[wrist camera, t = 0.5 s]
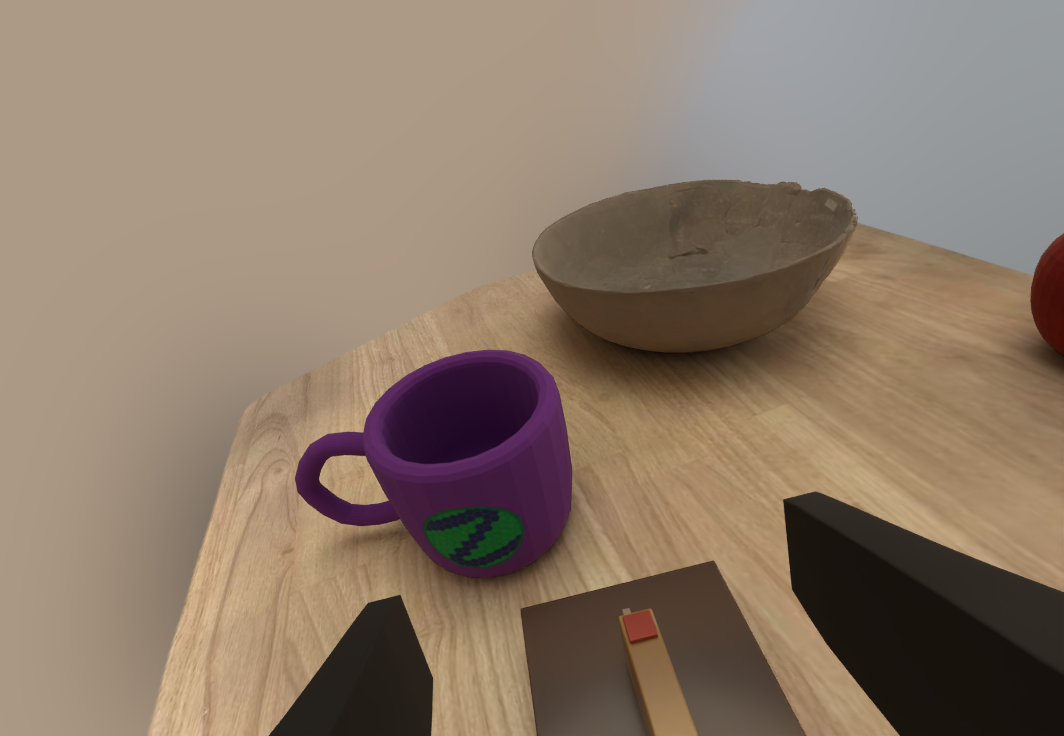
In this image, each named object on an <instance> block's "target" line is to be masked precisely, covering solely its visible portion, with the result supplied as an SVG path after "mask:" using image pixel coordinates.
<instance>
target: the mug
mask: <svg viewBox="0 0 1064 736" xmlns="http://www.w3.org/2000/svg"><path fill="white" fill-rule="evenodd" d="M340 455H357V456H366V458H367V461H368V462H369V464H370V466H371V468H372V470H373V472H374V474H375V476H376V478H377V480H378V481H379V483H380V485H381V487H382V489H383V491H384V493H385V494H386V496H387V498H388V499H389V501H387V502H383V503H378V504H370V505H358V504H351V503H349V502H347V501H344V500H342V499H340V498H338V497H337V496H336V495H334V494H333V493H332V492H330V491H329V490H328V489H327V488H325V487H324V486H323V485H322V484H321V483H320V481H319V476H320V472H321V469H322V467H323V465H324V463H325V462H326V460H327V459H329V458H330V457H332V456H340ZM295 481H296V486H297V491H298V493H299V494H300V495H301V496H302V497H303V498H304V500H305V501H306V502H307V503H308V504H309V505H311V506H312V507H313V508H315V509H316V510H317V511H319V512H320V513H321V514H323V515H325V516H327V517H329V518H331V519H333V520H335V521H337V522H339V523H341V524H349V525H357V526H368V525H379V524H384V523H388V522H392V521H396V520H399V519H401V521H402V523H403V524H404V526H405V527H406V529H407V530H408V531H409V533H410V534H411V535H412V537H413V538H414V539H415V541H416V542H417V543H418V544H419V546H420V547H421V548H422V549H423V551H424V552H425V553H426V554H427V555H428V556H429V557H430V559H431V560H432V561H433V562H435V563H436V564H438V565H440V566H441V567H443V568H444V569H446V570H448V571H449V572H452V573H455V574H459V575H463V576H467V577H472V578H483V577H496V576H500V575H504V574H508V573H512V572H515V571H517V570H519V569H521V568H523V567H525V566H527V565H529V564H531V563H533V562H535V561H536V560H537V559H538V558H539V557H540V556H542V555H543V554H544V553H545V552H546V551H547V550H548V549H550V548H551V546H552V545H553V543H554V542H555V541H556V539H557V538H558V536H559V535H560V534H561V532H562V530H563V528H564V526H565V523H566V520H567V518H568V515H569V512H570V510H571V492H572V466H571V458H570V450H569V443H568V436H567V429H566V424H565V419H564V414H563V409H562V404H561V399H560V394H559V391H558V388H557V386H556V383H555V380H554V378H553V376H552V375H551V374H550V373H549V372H548V371H547V370H546V369H545V368H544V367H543V366H542V365H541V364H540V363H539V362H537V361H535V360H534V359H532V358H530V357H528V356H526V355H523V354H519V353H515V352H511V351H504V350H482V351H473V352H465V353H461V354H457V355H453V356H449V357H445V358H442V359H440V360H437V361H435V362H432V363H430V364H427V365H424V366H423V367H421V368H419V369H417V370H415V371H414V372H412V373H410V374H408V375H406V376H405V377H404V378H402V379H401V380H400V381H398V382H397V383H396V384H394V385H393V386H392V387H391V388H389V389H388V390H387V391H386V392H385V393H384V394H383V396H382V397H381V398H380V399H379V400H378V401H377V402H376V403H375V404H374V406H373V408H372V410H371V411H370V413H369V415H368V417H367V418H366V422H365V427H364V433H360V432H342V433H332V434H327V435H325V436H323V437H322V438H320V439H318V440H317V441H315V442H313V443H312V444H310V445H309V447H308V448H307V450H306V452H305V453H304V455H303V456H302V458H301V459H300V461H299V464H298V468H297V472H296V476H295Z"/></svg>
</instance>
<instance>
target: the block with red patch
mask: <svg viewBox="0 0 1064 736" xmlns="http://www.w3.org/2000/svg"><path fill="white" fill-rule="evenodd" d="M618 619H619V625H620V631H621V637H622V643H623V649H624V655H625V660H626V664H627V667H628V671H629V674H630V677H631V681H632V684H633V688H634V691H635V694H636V698H637V701H638V704H639V708H640V711H641V715H642V718H643V721H644V725H645V728H646V732H647V735H648V736H698V733H697V731H696V728H695V725H694V722H693V720H692V717H691V714H690V712H689V709H688V706H687V703H686V701H685V698H684V695H683V693H682V690H681V687H680V684H679V682H678V679H677V676H676V674H675V671H674V668H673V665H672V663H671V660H670V657H669V655H668V652H667V649H666V646H665V644H664V641H663V638H662V636H661V633H660V630H659V627H658V625H657V622H656V619H655V617H654V614H653V611H652V610H651V609H646V610H642V611H638V612H634V613H630V614H626V615H622V616H619V618H618Z"/></svg>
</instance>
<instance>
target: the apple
mask: <svg viewBox="0 0 1064 736" xmlns="http://www.w3.org/2000/svg"><path fill="white" fill-rule="evenodd" d="M1030 301H1031V310H1032V315H1033V318H1034V321H1035V324H1036V327H1037V329H1038V330H1039V332H1040V334H1041V335H1042V337H1043V338H1044V339H1045V340H1046V342H1047V343H1048V344H1050V345H1051V346H1052V347H1053V348H1054V349H1055V350H1056V351H1058V352H1059V353H1060V354H1062V355H1064V234H1062V235H1061V236H1059V237H1058V238H1057V239H1056V240H1055V241H1053V243H1052V244H1051V245H1050V246H1049V247H1048V249H1047V250H1046V251H1045V252H1044V253H1043V255H1042V256H1041V258H1040V260H1039V263H1038V265H1037V267H1036V269H1035V273H1034V278H1033V282H1032V287H1031V300H1030Z"/></svg>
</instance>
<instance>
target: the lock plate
mask: <svg viewBox="0 0 1064 736" xmlns="http://www.w3.org/2000/svg"><path fill="white" fill-rule="evenodd" d="M646 609H651V610H652V611H653V614H654V617H655V619H656V622H657V625H658V627H659V630H660V633H661V636H662V638H663V641H664V644H665V646H666V649H667V652H668V655H669V657H670V660H671V663H672V665H673V668H674V671H675V674H676V676H677V679H678V682H679V684H680V687H681V690H682V693H683V695H684V698H685V701H686V703H687V706H688V709H689V712H690V714H691V717H692V720H693V722H694V725H695V728H696V731H697V733H698V736H806V734H805V733H804V731H803V729H802V727H801V725H800V723H799V721H798V719H797V717H796V715H795V714H794V712H793V710H792V708H791V706H790V704H789V702H788V700H787V698H786V696H785V695H784V693H783V691H782V689H781V687H780V685H779V683H778V681H777V679H776V677H775V676H774V674H773V672H772V670H771V668H770V666H769V664H768V662H767V660H766V658H765V657H764V655H763V653H762V651H761V649H760V647H759V645H758V643H757V641H756V639H755V637H754V636H753V634H752V632H751V630H750V628H749V626H748V624H747V622H746V620H745V618H744V617H743V615H742V613H741V611H740V609H739V607H738V605H737V603H736V601H735V599H734V598H733V596H732V594H731V592H730V590H729V588H728V586H727V584H726V582H725V580H724V579H723V577H722V575H721V573H720V571H719V569H718V567H717V565H716V563H715V561H710V562H706V563H702V564H698V565H694V566H690V567H686V568H682V569H678V570H674V571H670V572H666V573H662V574H658V575H654V576H650V577H646V578H642V579H638V580H634V581H630V582H626V583H622V584H618V585H614V586H610V587H606V588H602V589H598V590H594V591H590V592H586V593H582V594H578V595H574V596H570V597H566V598H562V599H558V600H554V601H550V602H546V603H542V604H538V605H534V606H530V607H526V608H522V609H521V618H522V625H523V633H524V640H525V648H526V655H527V663H528V670H529V678H530V685H531V693H532V700H533V708H534V715H535V723H536V730H537V736H648V735H647V732H646V728H645V725H644V721H643V718H642V715H641V711H640V708H639V704H638V701H637V698H636V694H635V691H634V688H633V684H632V681H631V677H630V674H629V671H628V667H627V664H626V660H625V655H624V649H623V643H622V637H621V631H620V625H619V619H618V618H619V616H622V615H626V614H630V613H634V612H638V611H642V610H646Z"/></svg>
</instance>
